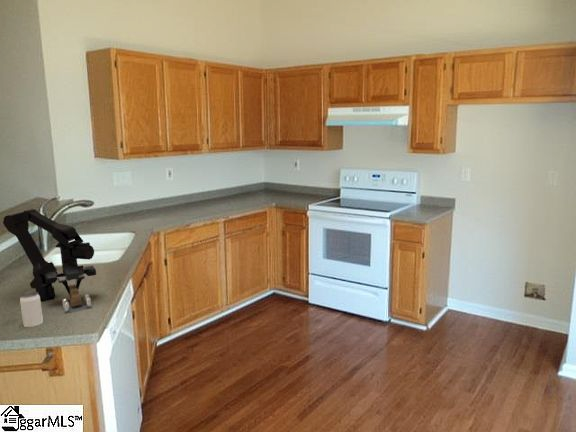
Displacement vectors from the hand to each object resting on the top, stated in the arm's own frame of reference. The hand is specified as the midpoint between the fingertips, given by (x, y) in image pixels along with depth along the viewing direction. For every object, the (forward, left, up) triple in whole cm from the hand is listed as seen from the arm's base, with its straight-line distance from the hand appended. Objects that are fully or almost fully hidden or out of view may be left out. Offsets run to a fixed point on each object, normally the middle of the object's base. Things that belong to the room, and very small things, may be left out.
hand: (73, 293), depth 192 cm
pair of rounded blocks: (0, -9, -3) cm, 10 cm away
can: (-16, -16, -4) cm, 23 cm away
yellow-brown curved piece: (0, -6, -3) cm, 6 cm away
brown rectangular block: (0, -3, -3) cm, 4 cm away
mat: (0, -7, -4) cm, 8 cm away
